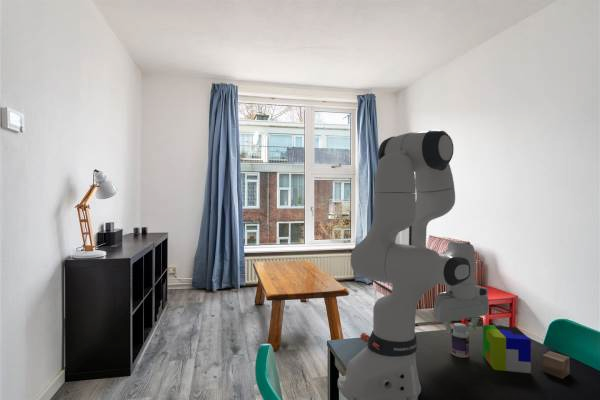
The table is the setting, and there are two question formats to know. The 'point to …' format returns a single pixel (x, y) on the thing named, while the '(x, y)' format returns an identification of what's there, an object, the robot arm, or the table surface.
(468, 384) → the table surface
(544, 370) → the walnut block
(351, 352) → the table surface
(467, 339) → the pill bottle
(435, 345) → the table surface
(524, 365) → the puzzle toy
